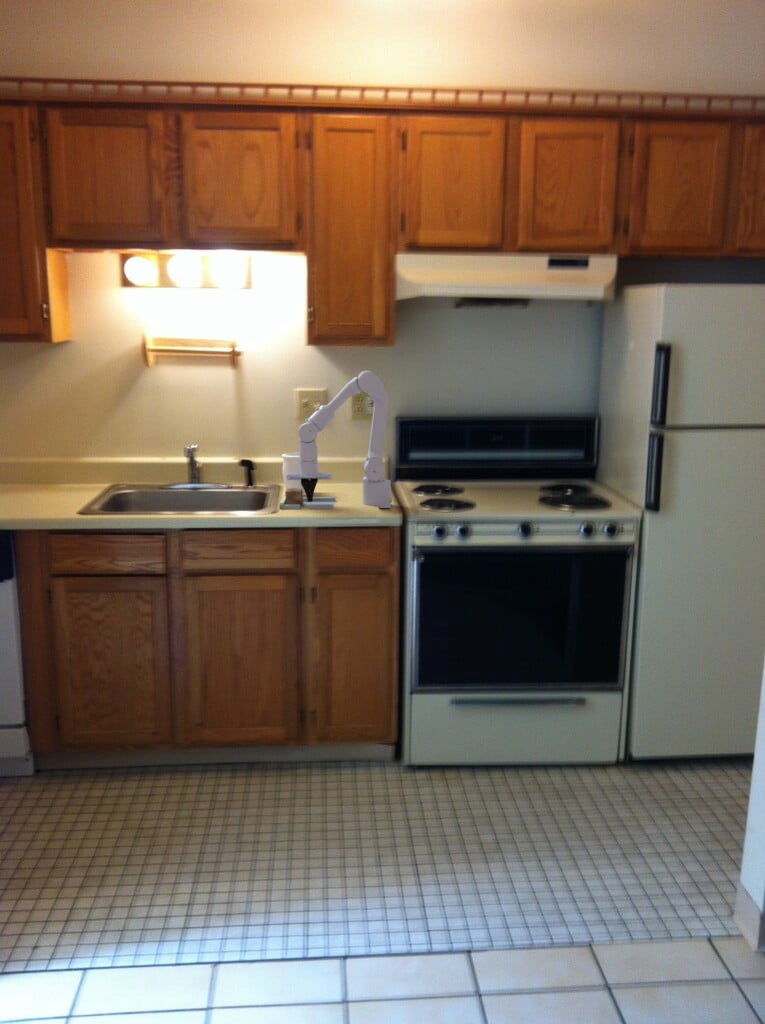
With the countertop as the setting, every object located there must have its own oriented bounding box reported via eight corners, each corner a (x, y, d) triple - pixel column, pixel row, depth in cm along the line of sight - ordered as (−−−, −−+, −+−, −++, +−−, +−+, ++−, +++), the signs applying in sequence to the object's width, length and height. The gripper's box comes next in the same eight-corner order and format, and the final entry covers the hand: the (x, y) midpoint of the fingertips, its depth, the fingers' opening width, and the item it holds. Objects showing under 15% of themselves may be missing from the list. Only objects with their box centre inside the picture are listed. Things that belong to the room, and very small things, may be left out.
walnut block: (303, 503, 280) (302, 488, 279) (301, 506, 275) (300, 491, 274) (288, 503, 280) (287, 488, 279) (286, 506, 275) (285, 491, 274)
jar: (280, 494, 299) (278, 452, 296) (308, 492, 303) (307, 450, 300) (287, 500, 290) (286, 457, 286) (316, 498, 293) (315, 455, 290)
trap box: (335, 504, 283) (335, 494, 283) (332, 512, 272) (332, 502, 271) (284, 504, 284) (284, 495, 283) (279, 512, 272) (279, 502, 271)
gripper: (284, 462, 270) (286, 504, 273) (330, 462, 270) (331, 503, 273) (287, 459, 277) (289, 499, 280) (331, 458, 277) (333, 499, 280)
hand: (310, 501), depth 277 cm, fingers closed
